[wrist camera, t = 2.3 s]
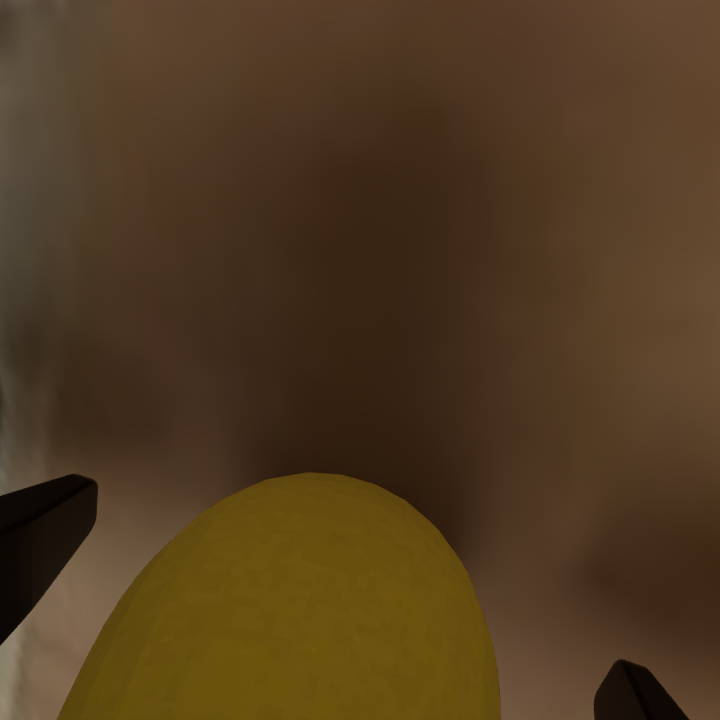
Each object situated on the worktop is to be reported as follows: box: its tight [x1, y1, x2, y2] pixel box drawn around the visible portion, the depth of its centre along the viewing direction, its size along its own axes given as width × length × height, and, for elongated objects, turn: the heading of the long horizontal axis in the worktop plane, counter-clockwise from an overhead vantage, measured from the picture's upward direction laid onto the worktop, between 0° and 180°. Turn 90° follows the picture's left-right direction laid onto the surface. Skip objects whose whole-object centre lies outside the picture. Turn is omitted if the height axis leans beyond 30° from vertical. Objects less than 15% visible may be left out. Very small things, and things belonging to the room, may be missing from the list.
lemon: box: [57, 472, 501, 720], centre depth 7 cm, size 6×6×8 cm
